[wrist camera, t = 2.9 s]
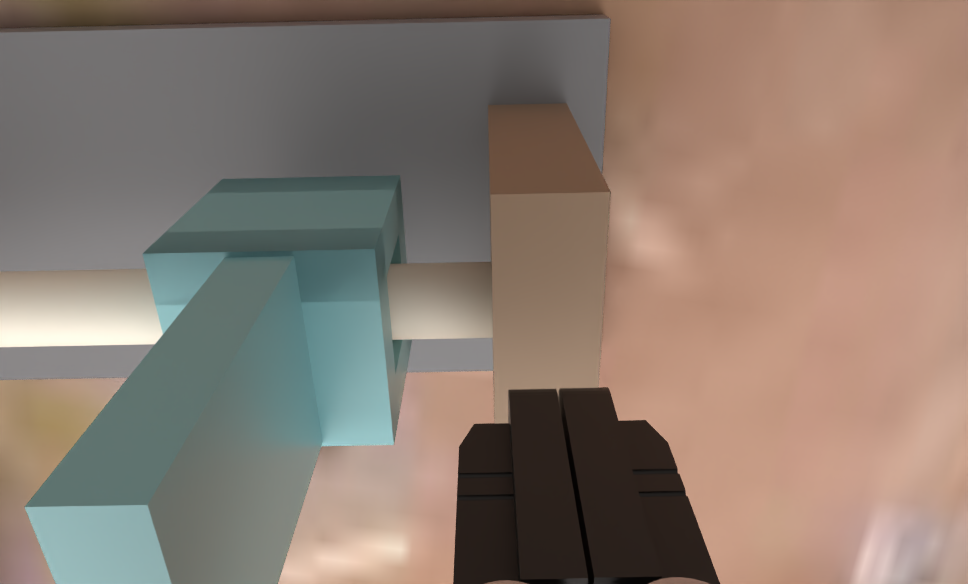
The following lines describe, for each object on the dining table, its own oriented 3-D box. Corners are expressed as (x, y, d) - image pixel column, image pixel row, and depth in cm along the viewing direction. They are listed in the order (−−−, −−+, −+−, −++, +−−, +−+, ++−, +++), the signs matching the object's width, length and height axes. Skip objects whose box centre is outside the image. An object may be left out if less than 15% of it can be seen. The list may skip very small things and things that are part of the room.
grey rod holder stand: (604, 14, 18) (692, 71, 11) (587, 352, 23) (640, 562, 15) (-408, 37, 18) (-1038, 110, 11) (-227, 367, 23) (-582, 582, 15)
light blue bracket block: (400, 175, 16) (290, 494, 7) (412, 337, 18) (339, 757, 9) (222, 178, 16) (-123, 500, 7) (253, 340, 18) (14, 761, 9)
